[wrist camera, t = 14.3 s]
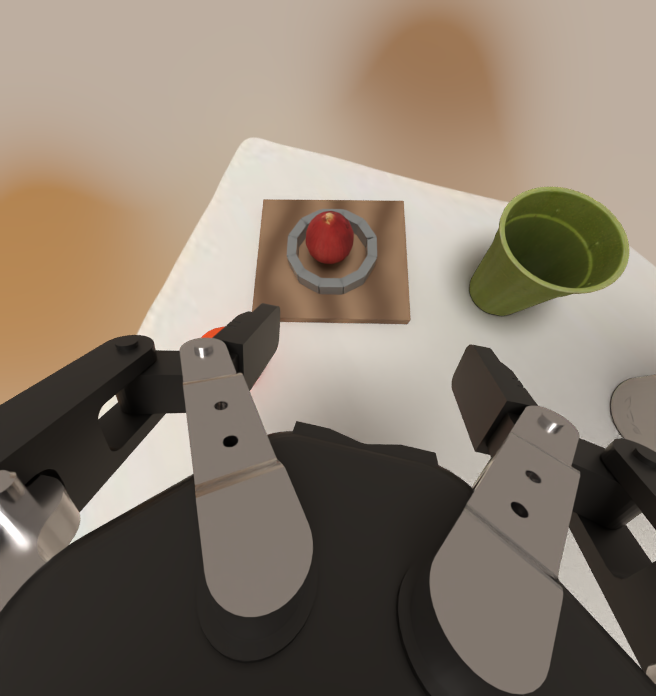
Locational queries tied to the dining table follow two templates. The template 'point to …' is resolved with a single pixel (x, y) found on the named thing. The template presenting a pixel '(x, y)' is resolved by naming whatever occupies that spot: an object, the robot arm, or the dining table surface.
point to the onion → (329, 237)
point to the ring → (332, 284)
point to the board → (334, 266)
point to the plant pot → (549, 251)
